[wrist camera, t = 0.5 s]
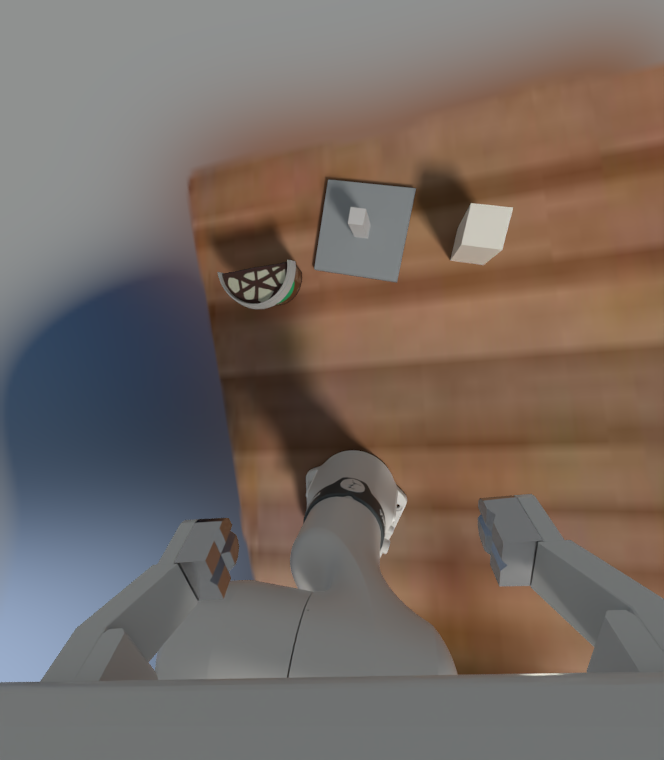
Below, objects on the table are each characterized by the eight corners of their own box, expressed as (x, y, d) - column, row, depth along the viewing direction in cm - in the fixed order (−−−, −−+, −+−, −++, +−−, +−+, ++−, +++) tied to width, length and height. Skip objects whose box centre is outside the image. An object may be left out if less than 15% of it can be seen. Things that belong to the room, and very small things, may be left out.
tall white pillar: (483, 264, 51) (502, 249, 41) (450, 260, 52) (461, 244, 42) (491, 231, 50) (513, 207, 41) (457, 227, 51) (470, 203, 41)
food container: (249, 316, 60) (220, 313, 51) (244, 281, 60) (214, 272, 50) (314, 306, 58) (296, 302, 48) (309, 270, 57) (291, 258, 47)
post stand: (396, 282, 54) (396, 274, 46) (315, 270, 57) (302, 260, 49) (415, 191, 52) (417, 166, 44) (329, 182, 54) (317, 157, 46)
